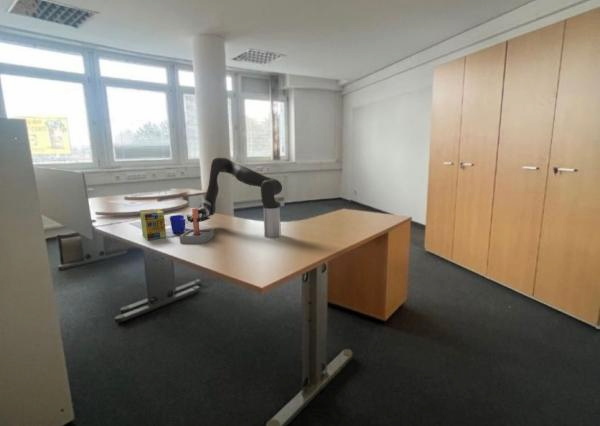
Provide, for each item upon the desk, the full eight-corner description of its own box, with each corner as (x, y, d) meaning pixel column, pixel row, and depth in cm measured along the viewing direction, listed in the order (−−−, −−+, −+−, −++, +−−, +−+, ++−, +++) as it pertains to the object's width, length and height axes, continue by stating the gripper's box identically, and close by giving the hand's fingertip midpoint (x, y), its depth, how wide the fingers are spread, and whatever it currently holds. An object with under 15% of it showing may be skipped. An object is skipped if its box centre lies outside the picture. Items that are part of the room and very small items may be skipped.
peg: (200, 235, 180) (198, 208, 177) (198, 236, 177) (196, 209, 174) (195, 235, 180) (193, 207, 177) (193, 236, 177) (190, 209, 174)
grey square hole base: (213, 236, 185) (213, 229, 184) (204, 243, 171) (203, 236, 171) (191, 236, 186) (190, 229, 186) (180, 242, 173) (179, 235, 172)
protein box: (147, 240, 178) (144, 214, 175) (142, 235, 190) (139, 210, 187) (166, 237, 184) (164, 211, 181) (160, 232, 196) (158, 208, 193)
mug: (179, 235, 188) (177, 219, 186) (168, 232, 196) (167, 216, 194) (191, 232, 195) (189, 216, 193) (180, 229, 202) (178, 214, 200)
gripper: (189, 208, 189) (180, 214, 172) (212, 207, 190) (206, 213, 173) (190, 220, 191) (182, 227, 174) (213, 219, 192) (207, 226, 175)
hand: (194, 220), depth 174 cm, fingers closed on peg, 3 cm apart
